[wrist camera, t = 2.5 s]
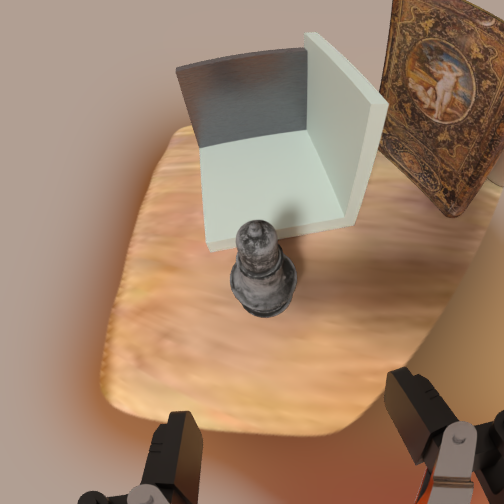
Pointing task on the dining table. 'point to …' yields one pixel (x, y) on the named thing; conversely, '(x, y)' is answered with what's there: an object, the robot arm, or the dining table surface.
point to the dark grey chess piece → (262, 271)
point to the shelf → (282, 139)
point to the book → (444, 98)
